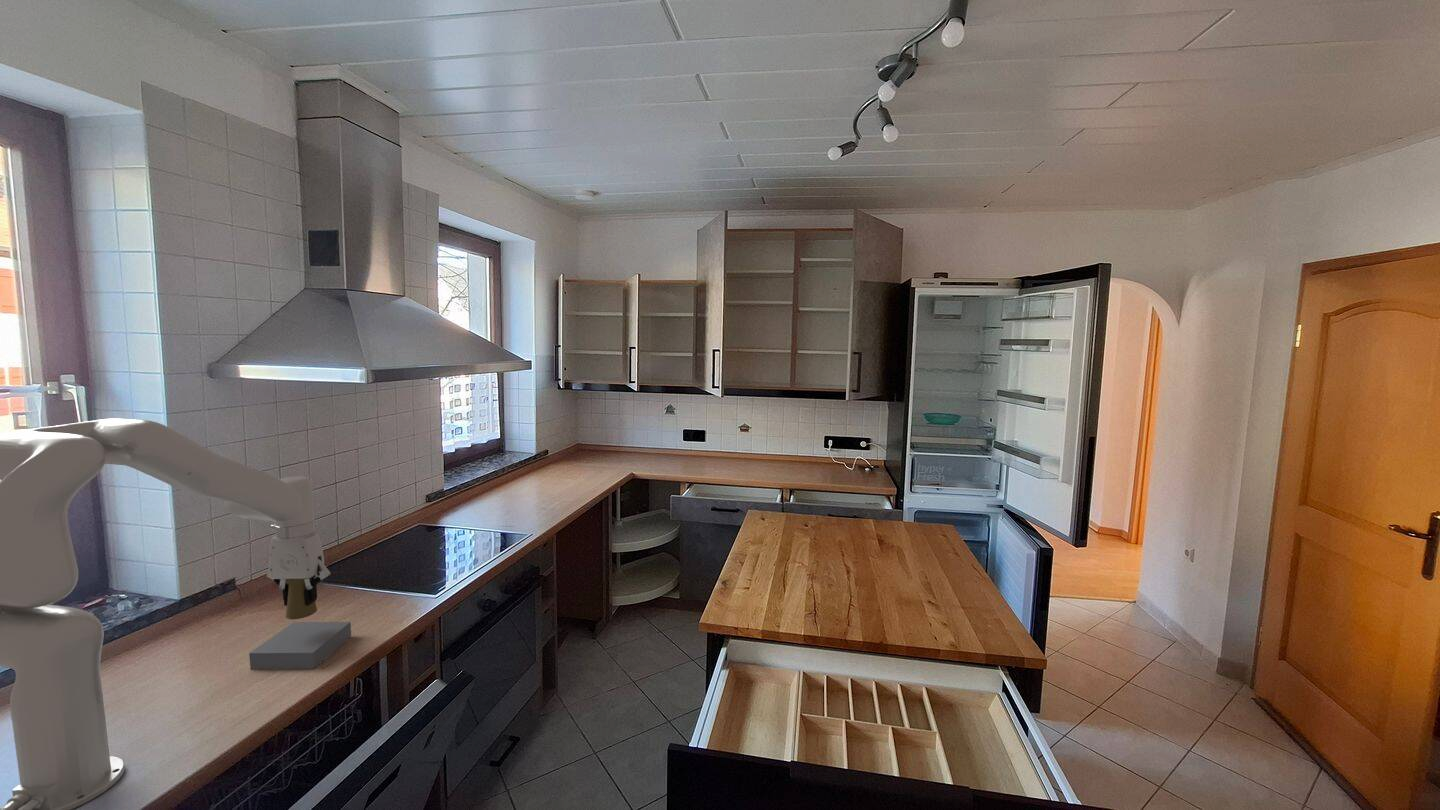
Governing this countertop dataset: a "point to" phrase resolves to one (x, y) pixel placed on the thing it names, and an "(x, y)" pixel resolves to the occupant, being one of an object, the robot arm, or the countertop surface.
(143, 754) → the countertop surface
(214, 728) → the countertop surface
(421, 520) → the countertop surface
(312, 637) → the base block
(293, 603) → the cork
